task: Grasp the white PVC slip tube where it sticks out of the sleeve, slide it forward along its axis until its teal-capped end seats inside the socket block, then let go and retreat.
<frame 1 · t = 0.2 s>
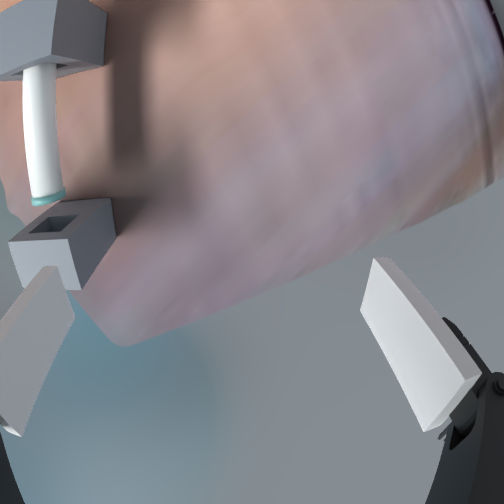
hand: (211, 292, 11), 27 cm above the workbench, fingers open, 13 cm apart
socket block: (86, 219, 37), on the workbench
slip tube: (39, 90, 21), point 9 cm above the workbench, slide at 0.0 cm
sleeve: (75, 46, 25), on the workbench
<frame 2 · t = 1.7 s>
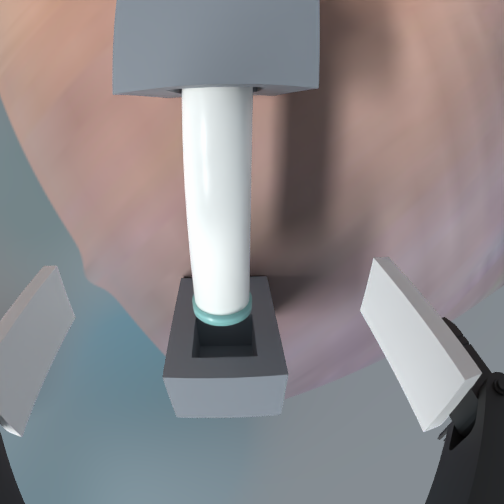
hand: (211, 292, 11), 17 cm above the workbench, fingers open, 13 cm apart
socket block: (224, 300, 32), on the workbench
slip tube: (217, 131, 16), point 9 cm above the workbench, slide at 0.0 cm
sleeve: (221, 51, 20), on the workbench
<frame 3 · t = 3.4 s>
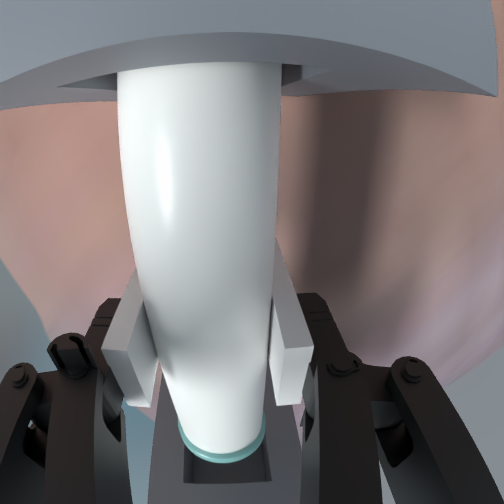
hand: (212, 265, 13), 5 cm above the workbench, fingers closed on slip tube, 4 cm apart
socket block: (224, 374, 23), on the workbench
slip tube: (200, 173, 7), point 9 cm above the workbench, slide at 0.0 cm, touching gripper
sleeve: (214, 26, 12), on the workbench
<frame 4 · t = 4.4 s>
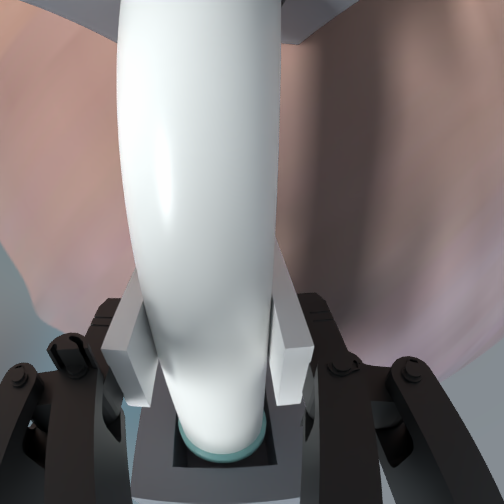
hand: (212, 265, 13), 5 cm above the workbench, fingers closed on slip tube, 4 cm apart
socket block: (222, 350, 22), on the workbench
slip tube: (199, 173, 7), point 9 cm above the workbench, slide at 3.1 cm, touching gripper
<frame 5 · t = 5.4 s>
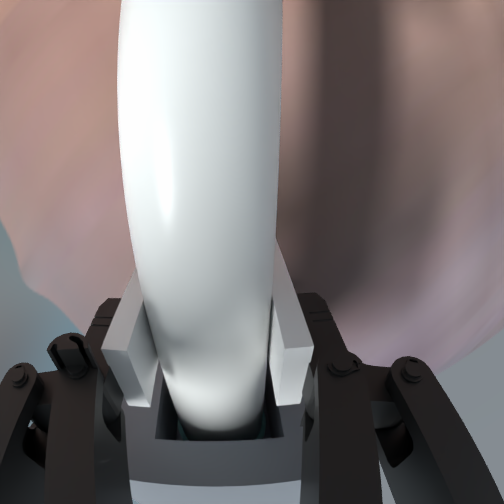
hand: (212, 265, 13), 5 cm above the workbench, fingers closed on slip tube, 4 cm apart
socket block: (220, 318, 20), on the workbench
slip tube: (200, 173, 7), point 8 cm above the workbench, slide at 6.5 cm, touching gripper
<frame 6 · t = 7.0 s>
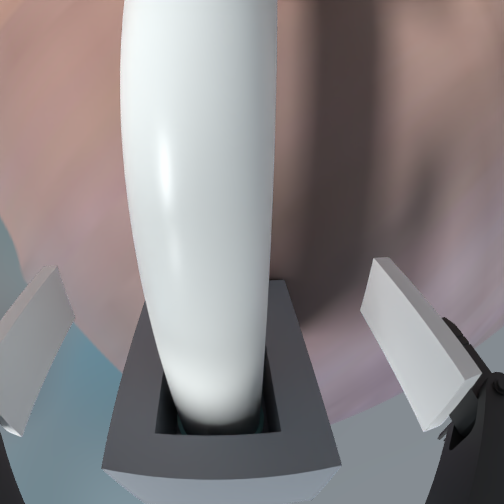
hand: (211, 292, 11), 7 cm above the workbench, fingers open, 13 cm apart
socket block: (219, 317, 21), on the workbench
slip tube: (199, 174, 8), point 9 cm above the workbench, slide at 6.5 cm
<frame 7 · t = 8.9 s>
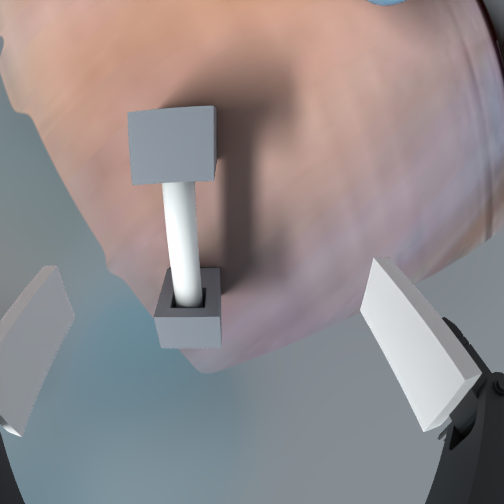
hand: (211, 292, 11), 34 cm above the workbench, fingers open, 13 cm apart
socket block: (194, 283, 51), on the workbench
slip tube: (182, 241, 38), point 9 cm above the workbench, slide at 6.5 cm
sleeve: (185, 135, 40), on the workbench
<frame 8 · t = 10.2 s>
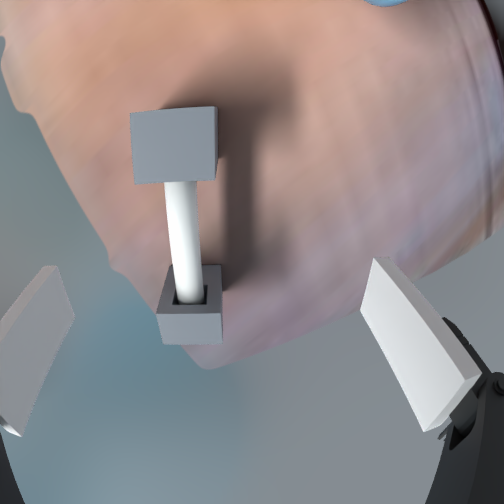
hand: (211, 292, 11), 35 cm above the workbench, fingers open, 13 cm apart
socket block: (196, 280, 52), on the workbench
slip tube: (184, 239, 39), point 8 cm above the workbench, slide at 6.5 cm
sleeve: (187, 134, 40), on the workbench
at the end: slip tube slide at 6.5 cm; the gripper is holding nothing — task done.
